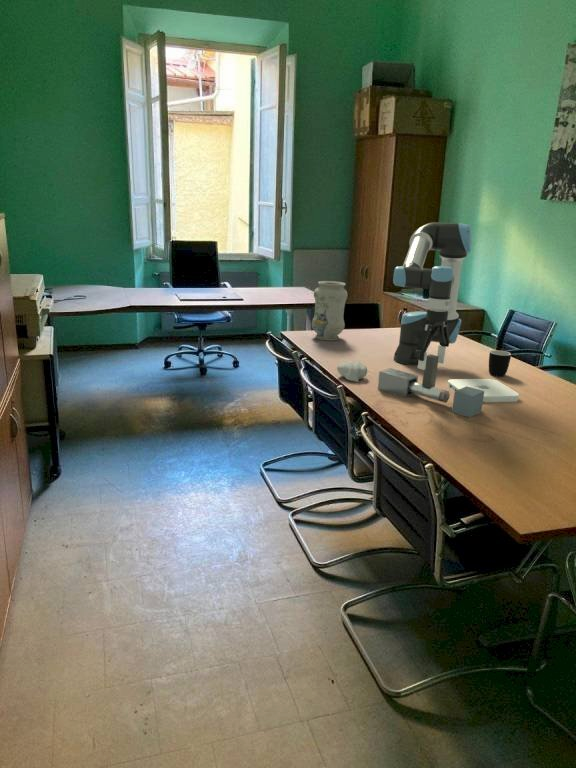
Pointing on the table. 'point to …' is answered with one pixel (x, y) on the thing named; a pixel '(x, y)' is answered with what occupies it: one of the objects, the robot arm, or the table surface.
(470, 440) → the table surface
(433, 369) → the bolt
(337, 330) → the vase
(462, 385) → the computer
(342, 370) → the shell shaped sculpture
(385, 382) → the sleeve
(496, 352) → the mug
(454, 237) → the robot arm
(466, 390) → the grey block
